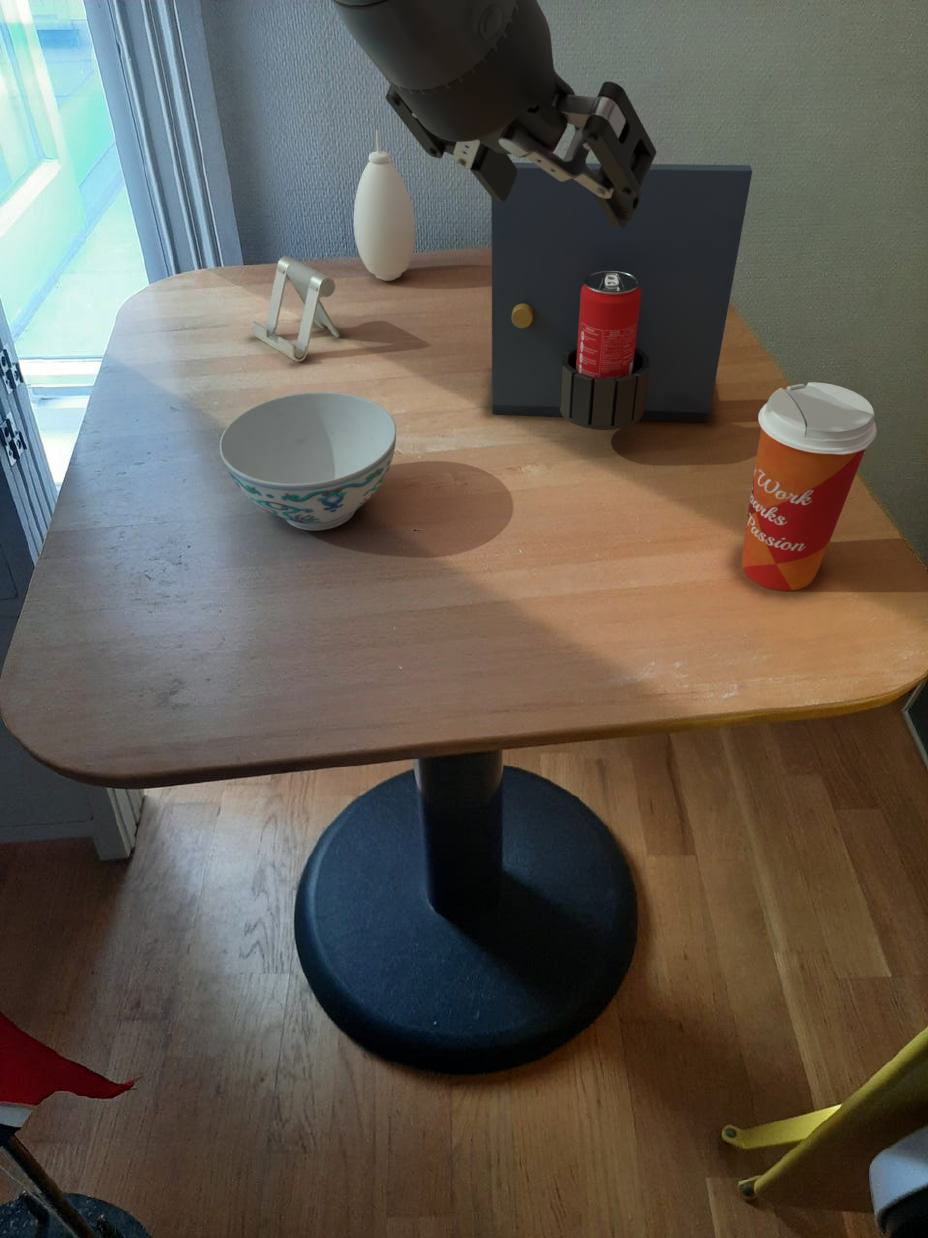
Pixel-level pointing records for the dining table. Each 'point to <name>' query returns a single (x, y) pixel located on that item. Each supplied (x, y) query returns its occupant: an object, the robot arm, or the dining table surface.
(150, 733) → the dining table surface
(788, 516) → the coffee cup
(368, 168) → the white air blower
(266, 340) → the tablet stand
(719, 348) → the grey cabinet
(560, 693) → the dining table surface
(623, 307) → the beverage can
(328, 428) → the chinaware
